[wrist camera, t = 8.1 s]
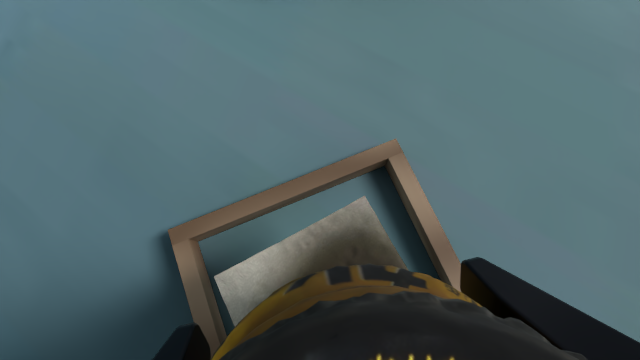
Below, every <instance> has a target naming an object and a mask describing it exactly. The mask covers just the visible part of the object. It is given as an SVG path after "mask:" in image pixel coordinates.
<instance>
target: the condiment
mask: <svg viewBox="0 0 640 360" xmlns="http://www.w3.org/2000/svg"><path fill="white" fill-rule="evenodd" d="M214 278H215V281H216V283H217V285H218V288H219V291H220V293H221V296H222V298H223V300H224V302H225V304H226V306H227V309H228V311H229V314H230V317H231V319H232V322H233V324H234V326H235V328H234V329H233V330H232V331H231V333H230V334H229V335H228V336H227V338H226V339H225V340H224V341H223V342H222V343H221V344H220V346H219V347H218V348H217V350H216V351H215V352H214V354H213V356H212V358H211V360H587V359H586V358H585V357H584V356H583V355H582V354H579V353H575V352H571V351H565V350H560V349H558V348H557V347H555V346H553V345H552V344H551V343H550V342H549V341H548V340H547V339H546V338H545V337H543V336H542V335H541V334H539V333H538V332H537V331H535V330H534V329H532V328H531V327H529V326H528V325H526V324H525V323H524V322H522V321H521V320H518V319H515V318H511V317H509V318H506V319H503V318H500V317H497V316H495V315H493V314H492V313H491V312H490V311H489V310H488V309H486V308H485V307H482V306H481V305H480V304H479V303H477V302H475V301H474V300H472V299H471V298H469V297H468V296H467V295H465V294H464V293H462V292H460V291H458V290H457V289H455V288H453V287H452V286H450V285H448V284H446V283H444V282H442V281H440V280H438V279H435V278H433V277H431V276H430V275H427V274H423V273H418V272H410V271H409V270H408V269H407V267H406V265H405V264H404V262H403V261H402V259H401V257H400V256H399V254H398V252H397V250H396V248H395V247H394V245H393V244H392V242H391V240H390V239H389V237H388V235H387V233H386V232H385V230H384V228H383V226H382V225H381V223H380V221H379V219H378V217H377V215H376V214H375V212H374V211H373V209H372V207H371V206H370V204H369V202H368V200H367V199H366V197H365V196H363V197H362V198H360V199H358V200H356V201H354V202H352V203H351V204H349V205H347V206H345V207H344V208H342V209H340V210H338V211H336V212H334V213H333V214H331V215H329V216H327V217H325V218H323V219H321V220H320V221H318V222H316V223H314V224H312V225H310V226H309V227H307V228H305V229H303V230H301V231H299V232H297V233H295V234H294V235H292V236H290V237H288V238H286V239H284V240H282V241H281V242H280V243H277V244H275V245H273V246H271V247H269V248H267V249H265V250H264V251H262V252H259V253H258V254H256V255H254V256H252V257H250V258H249V259H247V260H245V261H243V262H241V263H239V264H237V265H235V266H233V267H231V268H229V269H227V270H226V271H224V272H222V273H220V274H218V275H216V276H214Z"/></svg>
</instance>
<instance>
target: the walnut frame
mask: <svg viewBox="0 0 640 360" xmlns="http://www.w3.org/2000/svg"><path fill="white" fill-rule="evenodd" d="M383 166H385V167H386V169H387V171H388V173H389V175H390V178H391V180H392V182H393V184H394V186H395V188H396V190H397V192H398V194H399V196H400V198H401V200H402V202H403V204H404V206H405V208H406V210H407V212H408V214H409V216H410V218H411V220H412V222H413V224H414V226H415V228H416V230H417V232H418V234H419V236H420V238H421V240H422V242H423V244H424V246H425V248H426V251H427V253H428V255H429V257H430V259H431V261H432V263H433V265H434V267H435V269H436V271H437V273H438V275H439V277H440V279H441V281H442V282H444V283H446V284H448V285H450V286H452V287H453V288H455V289H457V290H458V291H460V292H461V290H460V272H461V264H460V262H459V260H458V258H457V256H456V254H455V252H454V250H453V248H452V246H451V244H450V242H449V240H448V238H447V236H446V235H445V233H444V231H443V229H442V227H441V225H440V223H439V221H438V219H437V217H436V215H435V213H434V211H433V209H432V207H431V205H430V204H429V202H428V200H427V198H426V196H425V194H424V192H423V190H422V188H421V186H420V184H419V182H418V180H417V178H416V176H415V174H414V172H413V171H412V169H411V167H410V165H409V163H408V161H407V159H406V157H405V155H404V153H403V151H402V149H401V147H400V145H399V143H398V141H397V140H396V139H394V140H391V141H389V142H386V143H384V144H381V145H379V146H376V147H374V148H371V149H369V150H366V151H364V152H361V153H359V154H356V155H354V156H351V157H349V158H346V159H344V160H341V161H339V162H336V163H334V164H331V165H329V166H326V167H324V168H321V169H319V170H316V171H314V172H311V173H309V174H306V175H304V176H301V177H299V178H296V179H294V180H291V181H289V182H286V183H284V184H281V185H279V186H276V187H274V188H271V189H269V190H266V191H264V192H261V193H259V194H256V195H254V196H251V197H249V198H246V199H244V200H241V201H239V202H236V203H234V204H231V205H229V206H226V207H224V208H221V209H219V210H216V211H214V212H211V213H209V214H206V215H204V216H201V217H199V218H196V219H194V220H191V221H189V222H186V223H184V224H181V225H179V226H176V227H174V228H171V229H169V230H168V233H169V236H170V240H171V243H172V247H173V250H174V254H175V257H176V261H177V264H178V268H179V271H180V275H181V279H182V282H183V286H184V289H185V293H186V296H187V300H188V303H189V307H190V310H191V314H192V317H193V321H194V323H197V324H198V325H199V326H200V328H201V330H202V332H203V334H204V336H205V338H206V340H207V341H208V343H209V346H210V350H211V358H212V356H213V354H214V352H215V351H216V350H217V348H218V347H219V346H220V344H221V343H222V342H223V341H224V340H225V339H226V338H227V335H226V332H225V329H224V325H223V322H222V319H221V316H220V312H219V309H218V306H217V303H216V299H215V296H214V293H213V289H212V286H211V283H210V280H209V276H208V273H207V270H206V267H205V263H204V260H203V257H202V254H201V250H200V247H199V244H198V241H201V240H203V239H206V238H208V237H210V236H213V235H215V234H218V233H220V232H223V231H225V230H228V229H230V228H233V227H235V226H238V225H240V224H242V223H245V222H247V221H250V220H252V219H255V218H257V217H260V216H262V215H265V214H267V213H270V212H272V211H274V210H277V209H279V208H282V207H284V206H287V205H289V204H292V203H294V202H297V201H299V200H302V199H304V198H306V197H309V196H311V195H314V194H316V193H319V192H321V191H324V190H326V189H329V188H331V187H334V186H336V185H338V184H341V183H343V182H346V181H348V180H351V179H353V178H356V177H358V176H361V175H363V174H366V173H368V172H370V171H373V170H375V169H378V168H380V167H383Z"/></svg>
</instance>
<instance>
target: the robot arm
mask: <svg viewBox="0 0 640 360" xmlns="http://www.w3.org/2000/svg"><path fill="white" fill-rule="evenodd" d="M460 290H461V292H462V293H464V294H465V295H467V296H468V297H469V298H471V299H472V300H474V301H475V302H477V303H479V304H480V305H481V306H482V307H485V308H486V309H488V310H489V311H490V312H491V313H492V314H493V315H495V316H497V317H500V318H503V319H506V318H509V317H511V318H515V319H518V320H521V321H522V322H524V323H525V324H526V325H528V326H529V327H531V328H532V329H534V330H535V331H537V332H538V333H539V334H541V335H542V336H543V337H545V338H546V339H547V340H548V341H549V342H550V343H551V344H552V345H553V346H555V347H557V348H558V349H560V350H565V351H571V352H575V353H579V354H582V355H583V356H584V357H585V358H586V359H587V360H640V343H639V342H637V341H636V340H634V339H632V338H630V337H628V336H626V335H624V334H623V333H621V332H619V331H617V330H615V329H613V328H611V327H610V326H608V325H606V324H604V323H602V322H600V321H598V320H596V319H595V318H593V317H591V316H589V315H587V314H585V313H583V312H582V311H580V310H578V309H576V308H574V307H572V306H570V305H568V304H567V303H565V302H563V301H561V300H559V299H557V298H555V297H554V296H552V295H550V294H548V293H546V292H544V291H542V290H541V289H539V288H537V287H535V286H533V285H531V284H529V283H527V282H526V281H524V280H522V279H520V278H518V277H516V276H514V275H513V274H511V273H509V272H507V271H505V270H503V269H501V268H500V267H498V266H496V265H494V264H492V263H490V262H488V261H486V260H485V259H483V258H479V257H476V258H472V259H468V260H464V261H462V263H461V272H460ZM152 360H211V350H210V346H209V343H208V341H207V340H206V338H205V336H204V334H203V332H202V330H201V328H200V326H199V325H198V324H197V323H190V324H186V325H182V326H179V327H178V328H176V329H175V331H174V332H173V333H172V334H171V336H170V337H169V338H168V340H167V341H166V342H165V344H164V345H163V346H162V348H161V349H160V350H159V352H158V353H157V354H156V355H155V357H154V358H153V359H152Z"/></svg>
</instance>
